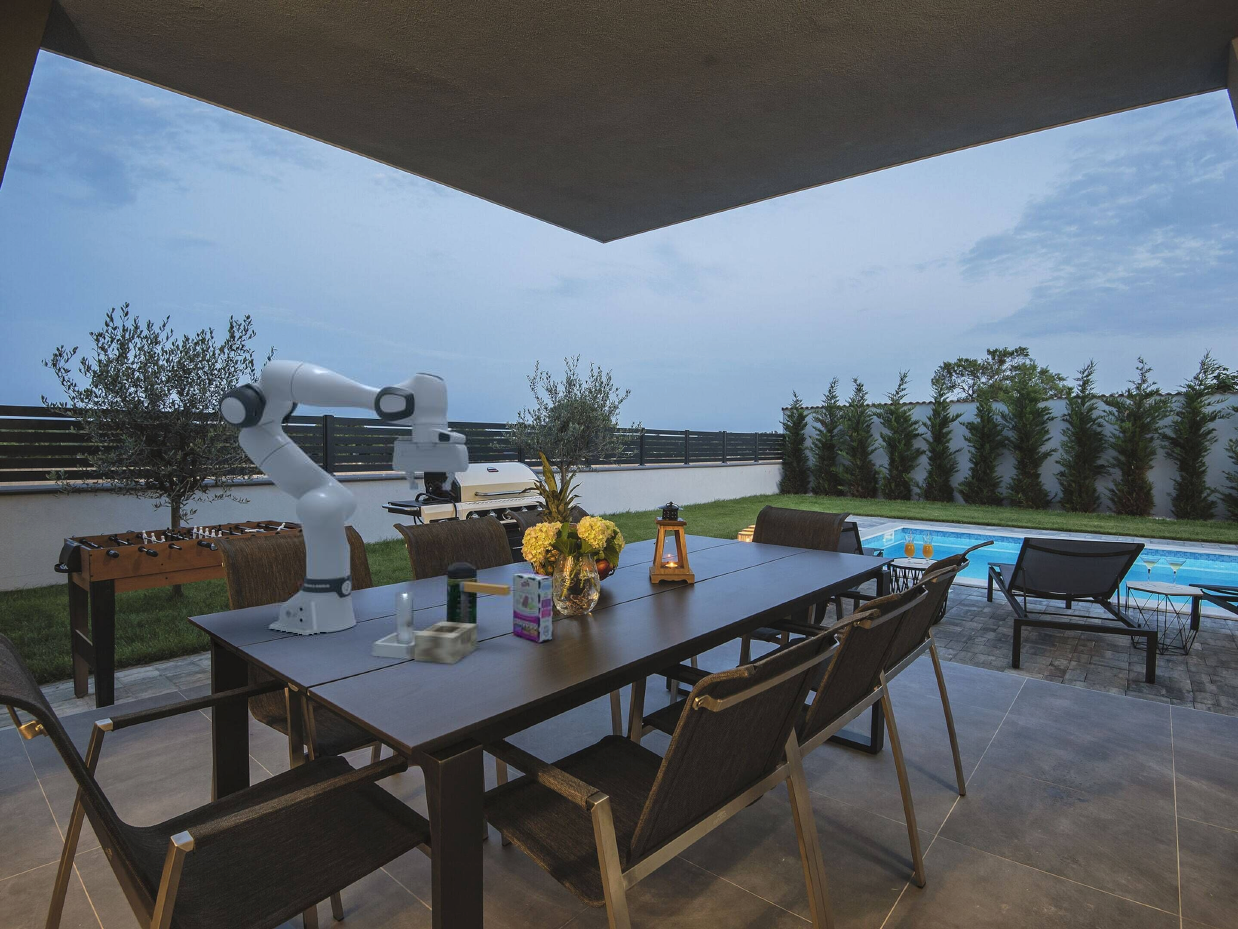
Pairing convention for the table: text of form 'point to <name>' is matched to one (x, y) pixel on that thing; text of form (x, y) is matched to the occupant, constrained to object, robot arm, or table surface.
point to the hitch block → (447, 639)
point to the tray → (393, 648)
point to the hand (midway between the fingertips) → (430, 489)
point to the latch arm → (485, 588)
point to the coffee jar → (454, 577)
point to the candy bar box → (533, 607)
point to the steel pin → (404, 618)
